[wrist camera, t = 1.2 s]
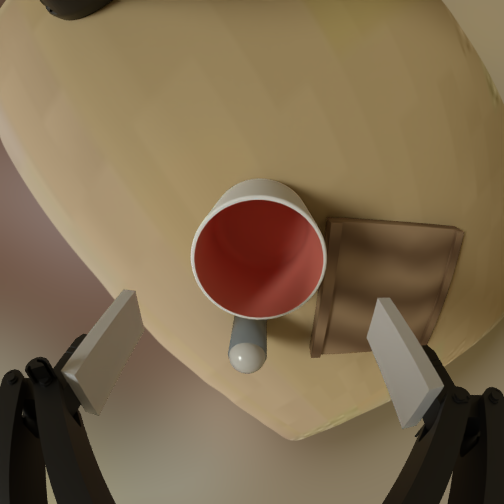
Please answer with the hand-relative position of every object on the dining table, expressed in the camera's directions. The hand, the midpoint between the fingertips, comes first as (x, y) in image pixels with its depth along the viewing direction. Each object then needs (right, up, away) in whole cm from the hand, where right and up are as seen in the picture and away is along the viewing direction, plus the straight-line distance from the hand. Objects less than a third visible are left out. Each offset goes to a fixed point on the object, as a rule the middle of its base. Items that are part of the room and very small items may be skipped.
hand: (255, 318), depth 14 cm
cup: (+1, +7, +15) cm, 17 cm away
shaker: (0, -5, +20) cm, 20 cm away
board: (+17, -1, +17) cm, 24 cm away
